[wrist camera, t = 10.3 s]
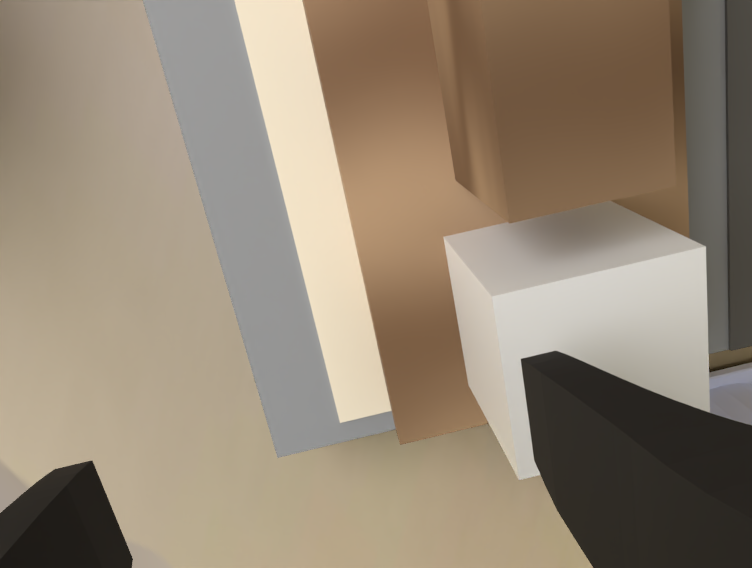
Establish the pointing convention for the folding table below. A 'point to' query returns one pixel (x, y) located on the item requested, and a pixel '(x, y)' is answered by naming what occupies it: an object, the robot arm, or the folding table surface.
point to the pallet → (423, 198)
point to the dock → (330, 213)
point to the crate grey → (578, 309)
